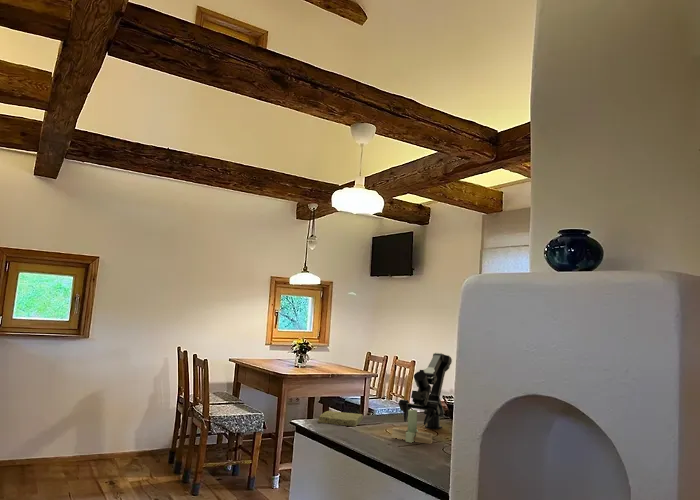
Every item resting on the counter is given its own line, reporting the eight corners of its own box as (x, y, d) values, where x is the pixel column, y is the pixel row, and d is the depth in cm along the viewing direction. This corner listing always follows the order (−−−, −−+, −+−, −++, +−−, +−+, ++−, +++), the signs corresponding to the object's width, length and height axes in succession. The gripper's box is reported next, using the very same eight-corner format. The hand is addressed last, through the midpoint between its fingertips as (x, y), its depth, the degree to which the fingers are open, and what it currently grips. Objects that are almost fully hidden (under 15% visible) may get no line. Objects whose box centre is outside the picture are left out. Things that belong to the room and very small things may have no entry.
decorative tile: (325, 416, 282) (325, 409, 283) (363, 419, 278) (363, 412, 279) (316, 424, 264) (316, 416, 265) (356, 427, 260) (356, 419, 260)
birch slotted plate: (394, 436, 242) (394, 427, 243) (432, 442, 234) (432, 433, 235) (392, 437, 240) (392, 428, 240) (430, 444, 232) (430, 434, 232)
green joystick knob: (410, 437, 242) (411, 408, 243) (419, 439, 240) (419, 409, 241) (404, 441, 234) (405, 411, 236) (413, 443, 233) (413, 412, 234)
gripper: (400, 381, 251) (390, 409, 240) (438, 385, 242) (430, 415, 231) (405, 396, 257) (396, 424, 246) (443, 400, 249) (435, 429, 238)
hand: (414, 423), depth 240 cm, fingers open, 9 cm apart
